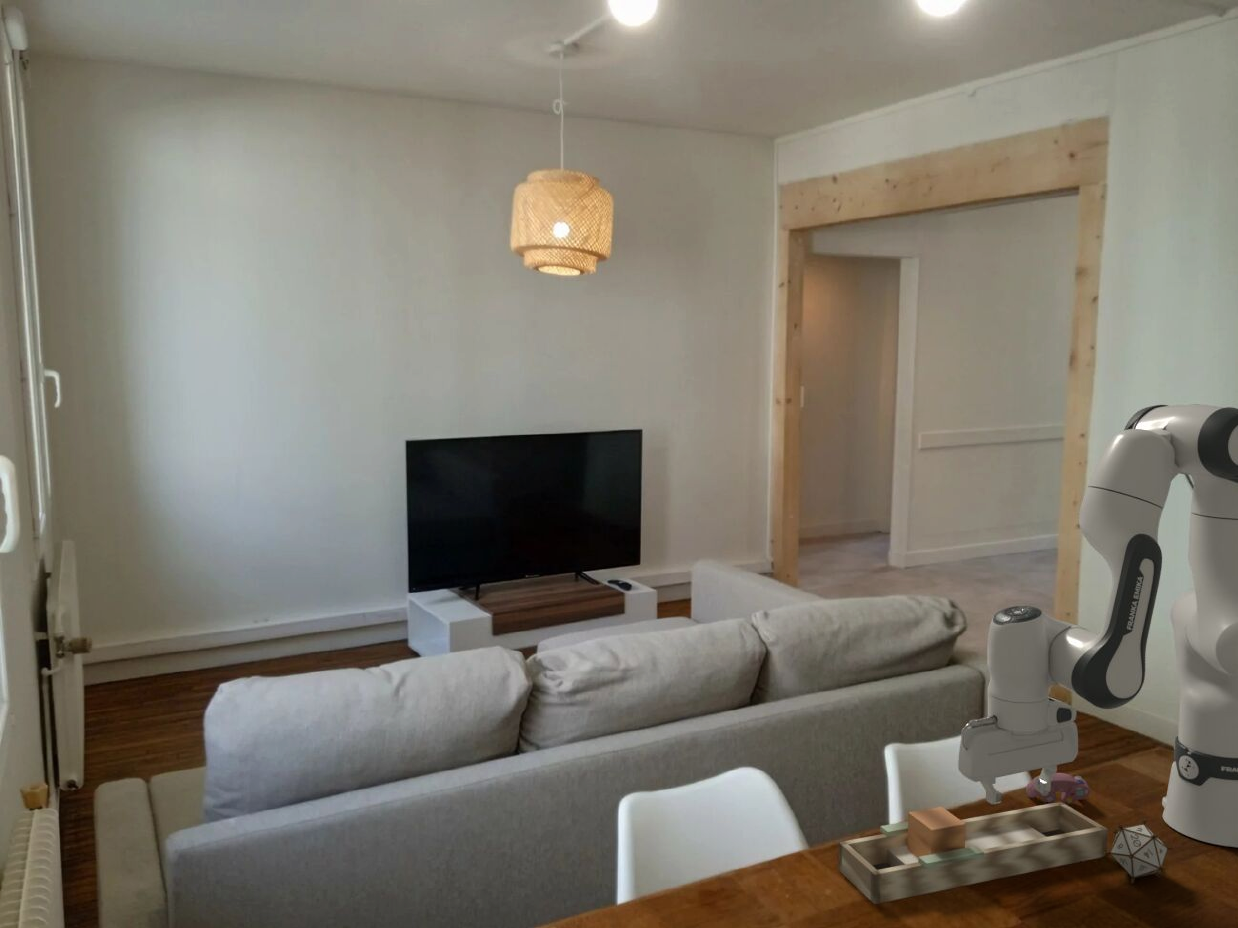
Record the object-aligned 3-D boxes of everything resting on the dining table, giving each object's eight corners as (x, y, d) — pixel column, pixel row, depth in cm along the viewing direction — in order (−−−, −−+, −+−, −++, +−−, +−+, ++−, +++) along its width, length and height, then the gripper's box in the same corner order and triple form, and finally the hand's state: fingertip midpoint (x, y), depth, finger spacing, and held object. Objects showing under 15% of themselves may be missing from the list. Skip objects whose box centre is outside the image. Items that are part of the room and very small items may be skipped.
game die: (1150, 903, 146) (1188, 873, 139) (1094, 879, 147) (1129, 848, 141) (1147, 852, 153) (1183, 821, 146) (1093, 829, 154) (1126, 797, 147)
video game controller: (1029, 811, 172) (1036, 784, 168) (1023, 789, 175) (1029, 763, 172) (1087, 813, 170) (1096, 787, 167) (1080, 792, 174) (1087, 766, 170)
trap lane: (1055, 824, 163) (1056, 794, 163) (1111, 859, 152) (1112, 826, 151) (834, 866, 150) (835, 833, 150) (878, 907, 139) (878, 872, 138)
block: (940, 842, 152) (941, 806, 152) (964, 861, 147) (965, 823, 146) (907, 848, 151) (908, 812, 150) (930, 868, 145) (931, 829, 144)
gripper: (975, 728, 144) (976, 817, 146) (1085, 707, 151) (1085, 793, 152) (948, 715, 150) (949, 800, 152) (1055, 695, 157) (1055, 777, 158)
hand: (1018, 796), depth 152 cm, fingers open, 8 cm apart
